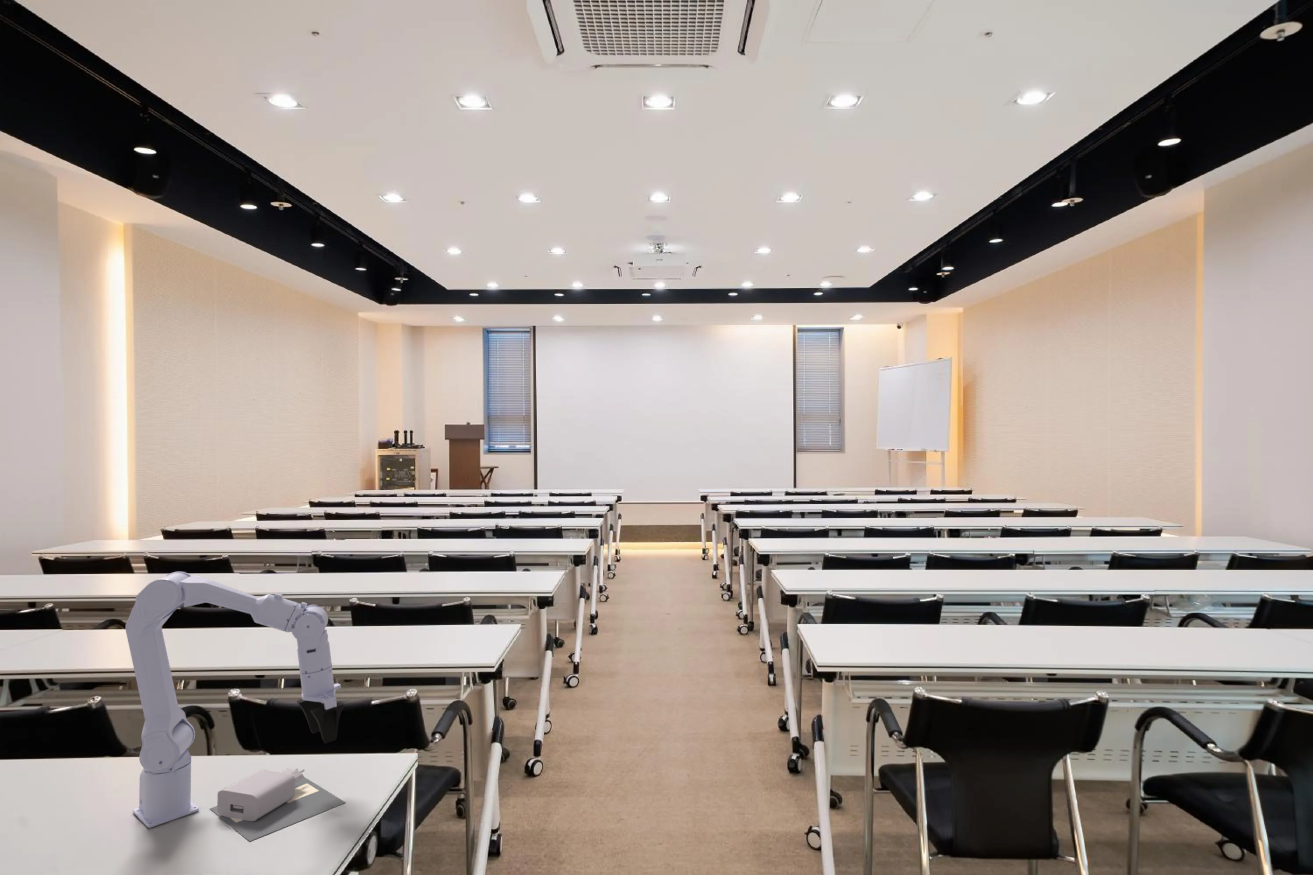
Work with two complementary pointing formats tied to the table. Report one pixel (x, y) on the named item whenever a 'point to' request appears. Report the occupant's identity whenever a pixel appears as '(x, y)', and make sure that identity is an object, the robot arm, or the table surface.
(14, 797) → the table surface
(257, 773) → the charger
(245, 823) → the label mat
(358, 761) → the table surface
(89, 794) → the table surface
